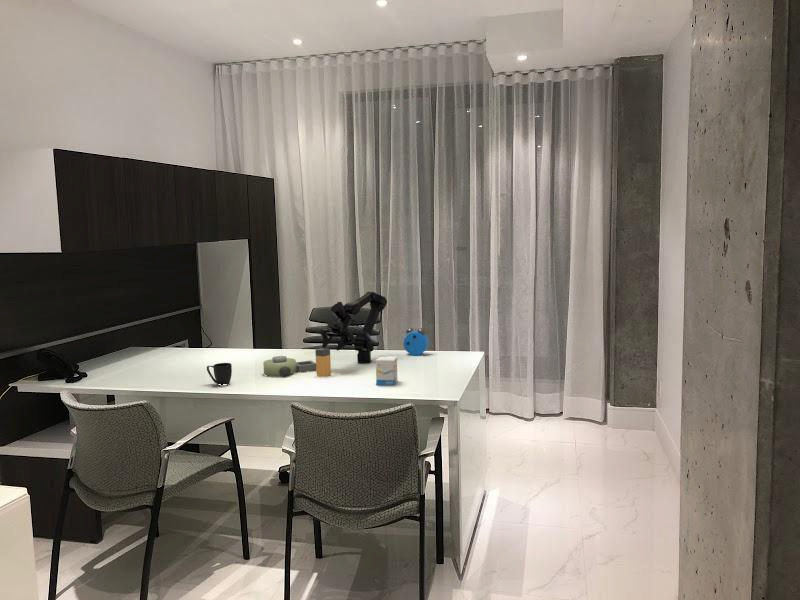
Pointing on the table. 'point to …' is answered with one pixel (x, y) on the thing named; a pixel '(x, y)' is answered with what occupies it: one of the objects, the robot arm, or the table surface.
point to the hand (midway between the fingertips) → (329, 349)
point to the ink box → (386, 370)
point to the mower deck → (286, 366)
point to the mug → (221, 373)
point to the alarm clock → (415, 341)
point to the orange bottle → (323, 362)
